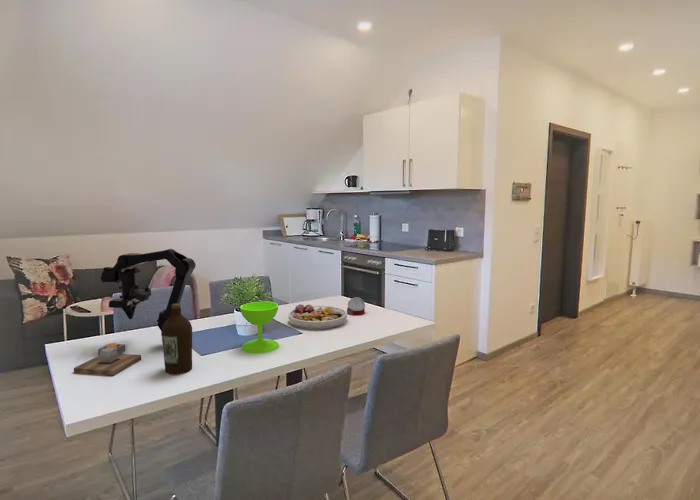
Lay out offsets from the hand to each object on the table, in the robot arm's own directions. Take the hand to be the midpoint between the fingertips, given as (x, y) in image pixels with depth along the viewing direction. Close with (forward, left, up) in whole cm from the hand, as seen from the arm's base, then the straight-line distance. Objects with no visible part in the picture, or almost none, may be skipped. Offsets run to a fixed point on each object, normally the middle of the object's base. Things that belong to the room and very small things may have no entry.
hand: (130, 318), depth 185 cm
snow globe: (-88, -68, -12) cm, 112 cm away
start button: (+2, +10, -11) cm, 15 cm away
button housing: (+2, +10, -12) cm, 16 cm away
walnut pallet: (-6, +22, -12) cm, 26 cm away
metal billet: (-6, +22, -11) cm, 25 cm away
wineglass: (-55, -8, -12) cm, 57 cm away
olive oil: (-34, +21, -12) cm, 42 cm away
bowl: (-71, -48, -13) cm, 87 cm away
